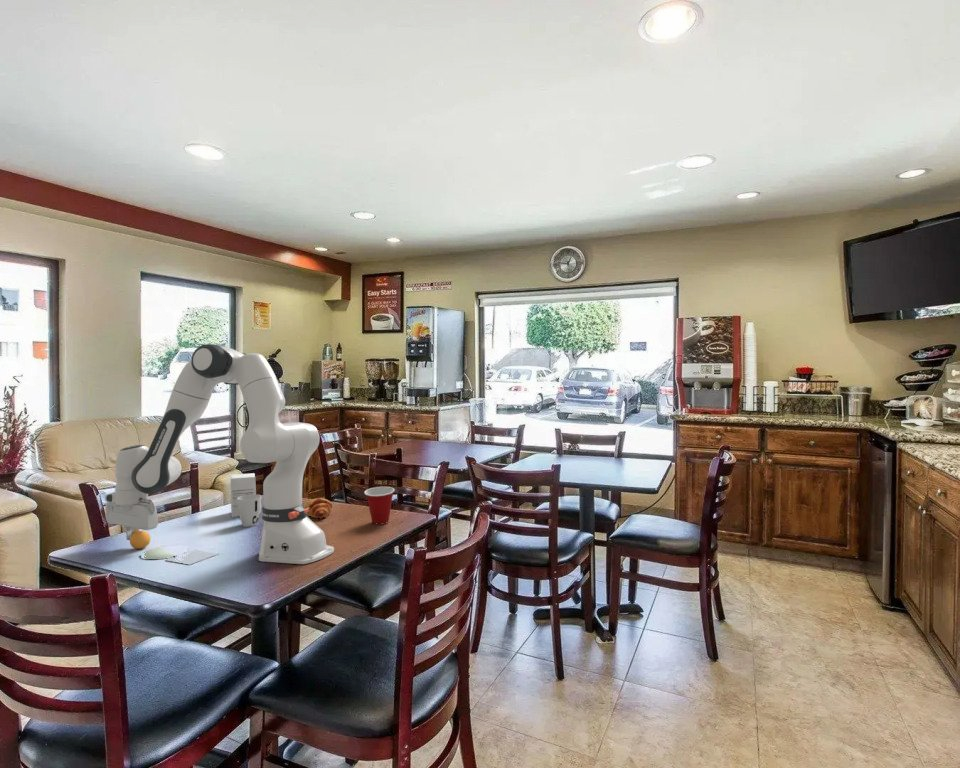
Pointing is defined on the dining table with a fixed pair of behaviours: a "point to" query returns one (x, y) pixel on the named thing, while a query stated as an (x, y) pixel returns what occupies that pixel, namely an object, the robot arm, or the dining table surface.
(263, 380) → the robot arm
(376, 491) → the plastic cup
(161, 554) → the disc
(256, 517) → the cup
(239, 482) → the supplement box
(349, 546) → the dining table surface
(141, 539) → the ball
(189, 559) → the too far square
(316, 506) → the croissant
